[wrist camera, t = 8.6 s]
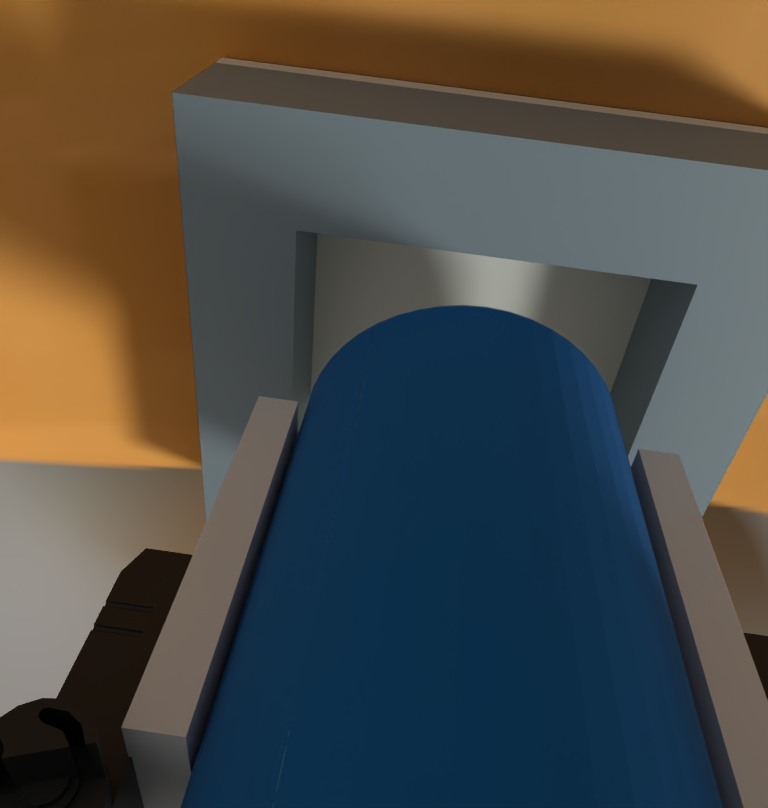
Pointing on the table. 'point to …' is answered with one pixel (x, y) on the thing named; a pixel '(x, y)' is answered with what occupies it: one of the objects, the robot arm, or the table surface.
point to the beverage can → (456, 594)
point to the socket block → (471, 243)
